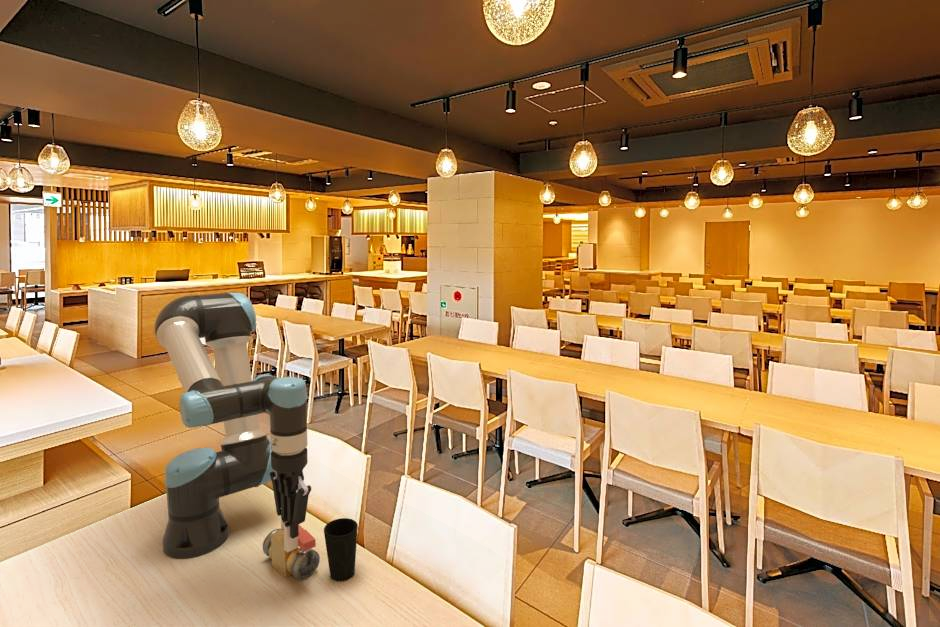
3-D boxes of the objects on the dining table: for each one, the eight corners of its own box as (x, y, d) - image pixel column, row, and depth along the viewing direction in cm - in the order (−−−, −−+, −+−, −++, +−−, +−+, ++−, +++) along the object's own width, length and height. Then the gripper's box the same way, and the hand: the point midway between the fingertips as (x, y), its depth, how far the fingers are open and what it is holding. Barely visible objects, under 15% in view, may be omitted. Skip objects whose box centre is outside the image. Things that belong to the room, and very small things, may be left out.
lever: (278, 527, 123) (278, 520, 122) (293, 522, 125) (293, 514, 125) (302, 552, 113) (301, 544, 113) (317, 545, 116) (317, 537, 115)
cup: (350, 587, 117) (349, 538, 115) (319, 582, 118) (317, 534, 116) (364, 565, 124) (362, 520, 122) (334, 561, 126) (333, 516, 124)
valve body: (263, 560, 126) (261, 523, 124) (287, 547, 131) (285, 512, 129) (295, 585, 117) (293, 545, 116) (320, 570, 122) (318, 532, 121)
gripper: (257, 445, 113) (260, 544, 116) (290, 463, 105) (292, 568, 108) (288, 436, 119) (290, 530, 122) (321, 452, 110) (322, 552, 114)
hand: (291, 548), depth 115 cm, fingers closed
